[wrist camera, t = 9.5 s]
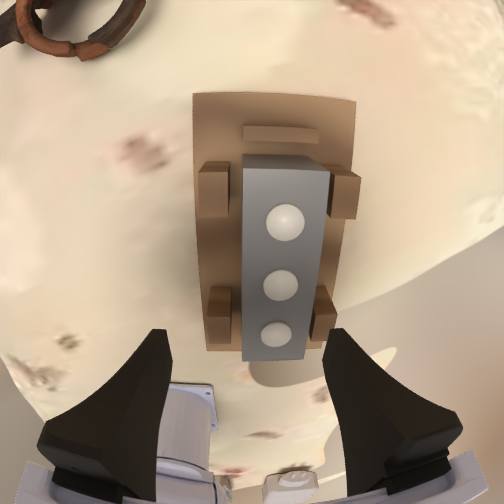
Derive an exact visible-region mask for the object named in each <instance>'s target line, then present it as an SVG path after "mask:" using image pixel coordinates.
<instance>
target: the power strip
mask: <svg viewBox="0 0 504 504" xmlns="http://www.w3.org/2000/svg"><path fill="white" fill-rule="evenodd" d="M329 180H330V171H329V170H327V169H326V168H324V167H323V166H321V165H320V164H319V163H317V162H316V161H314V160H313V159H311V158H310V157H308V156H302V155H280V154H242V227H241V325H242V361H279V360H300V359H303V358H304V354H305V349H306V343H307V338H308V333H309V327H310V322H311V316H312V310H313V304H314V298H315V292H316V285H317V279H318V272H319V265H320V258H321V251H322V243H323V235H324V227H325V219H326V210H327V201H328V191H329Z"/></svg>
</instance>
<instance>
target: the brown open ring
mask: <svg viewBox="0 0 504 504" xmlns="http://www.w3.org/2000/svg"><path fill="white" fill-rule="evenodd" d="M51 3H52V0H17V1H16V3H15V4H13V5H12V6H11V7H10V8H9V9H8V10H7V11H5V12H4V13H3V14H1V15H0V48H1V47H3V46H5V45H7V44H9V43H11V42H13V41H16V42H19V43H21V44H24V43H25V42H26V43H27V44H29V45H30V46H31V47H33V48H35V49H36V50H38V51H40V52H43V53H46V54H50V55H53V56H56V57H75V56H78V57H79V58H80V59H81V61H86V60H89V59H92V58H95V57H97V56H100V55H102V54H104V53H106V52H108V51H109V48H113V47H114V46H116V45H117V44H118V43H119V42H120V41H121V39H122V38H123V37H124V36H125V35H126V34H127V32H128V31H129V30H130V29H131V27H132V26H133V25H134V23H135V22H136V20H137V19H138V17H139V16H140V14H141V12H142V10H143V8H144V6H145V4H146V0H123V1H122V3H121V5H120V7H119V8H118V10H117V11H116V13H115V14H114V16H113V17H112V18H111V19H110V20H109V21H108V22H107V23H106V24H105V25H103V26H102V27H101V28H100V29H98V30H97V31H95V32H94V33H92V34H91V35H89V36H88V39H89V40H86V41H84V42H80V43H74V44H73V43H71V42H70V41H55V40H51V39H49V38H46V37H45V36H43V31H42V21H41V19H40V18H39V17H38V15H37V14H36V12H35V9H41V8H42V9H49V8H50V7H51Z"/></svg>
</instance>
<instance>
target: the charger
mask: <svg viewBox="0 0 504 504" xmlns="http://www.w3.org/2000/svg"><path fill="white" fill-rule="evenodd" d="M318 488H319V487H318V481H317V475H316V473H315V472H312V471H307V472H306V471H292V472H289V473H285V474H273V475H269V476H268V477H267V479H266V481H265V484H264V486H263V489H262V495H263V503H264V504H291V503H301V502H305V501H306V500H308V499H309V498H310V497H311V496H312V494H313V493H314V492H315V491H316V490H317V489H318Z"/></svg>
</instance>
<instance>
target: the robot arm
mask: <svg viewBox="0 0 504 504" xmlns="http://www.w3.org/2000/svg"><path fill="white" fill-rule="evenodd" d="M322 362H323V368H324V373H325V379H326V382H327V386H328V389H329V392H330V395H331V398H332V402H333V405H334V408H335V411H336V414H337V417H338V421H339V425H340V430H341V436H342V442H343V449H344V457H345V466H346V477H347V497H346V498H341V499H336V500H330V501H325V502H319V503H312V504H466V503H467V502H469V501H471V500H472V499H474V498H476V497H477V496H479V495H480V494H482V493H483V492H485V491H486V490H488V485H487V482H486V480H485V477H484V475H483V473H482V470H481V468H480V466H479V464H478V461H477V459H476V457H475V454H474V452H473V450H469V451H467V452H465V453H462V454H460V455H458V456H456V457H454V458H453V459H451V460H449V461H448V459H447V456H448V455H449V451H448V447H449V445H451V444H452V443H453V442H454V440H456V438H457V437H458V436H459V435H460V434H461V432H462V430H463V426H462V424H461V422H460V420H459V418H458V416H457V414H456V413H455V412H454V411H451V410H449V409H446V408H443V407H441V406H438V405H436V404H434V403H432V402H430V401H428V400H426V399H424V398H423V397H420V396H419V395H417V394H416V393H414V392H412V391H411V390H409V389H408V388H406V387H405V386H403V385H402V384H401V383H399V382H398V381H397V380H395V379H394V378H393V377H391V376H390V375H389V374H388V373H387V372H385V371H384V370H383V369H382V368H381V367H380V366H379V365H378V364H377V363H376V362H374V361H373V360H372V359H371V358H370V357H369V356H368V355H367V354H366V353H365V351H363V349H362V348H361V347H360V346H359V345H358V344H357V343H356V342H355V341H354V340H353V339H352V338H351V336H350V335H349V334H348V333H347V332H346V331H345V330H344V329H343V328H336V329H330V331H329V335H328V339H327V344H326V348H325V351H324V355H323V359H322ZM172 363H173V360H172V356H171V351H170V346H169V341H168V337H167V332H166V330H165V329H152V330H151V331H150V333H149V334H148V335H147V337H146V338H145V339H144V341H143V342H142V343H141V344H140V346H139V347H138V348H137V349H136V351H135V352H134V353H133V354H132V355H131V357H130V358H129V359H128V360H127V361H126V363H125V364H124V365H123V366H122V367H121V368H120V369H119V370H118V371H117V372H116V373H115V374H114V375H113V376H112V377H111V378H110V379H109V380H108V381H107V382H106V383H105V384H104V385H103V386H102V387H101V388H99V389H98V390H97V391H96V392H94V393H93V394H92V395H91V396H89V397H88V398H87V399H85V400H84V401H82V402H81V403H79V404H78V405H76V406H75V407H73V408H71V409H70V410H68V411H66V412H64V413H63V414H60V415H58V416H56V417H54V418H52V419H50V420H48V421H46V423H45V425H44V427H43V429H42V432H41V435H40V438H39V440H38V443H37V448H38V450H39V451H40V453H41V454H42V455H43V456H44V457H46V458H47V459H48V460H49V461H50V462H51V463H52V464H53V465H54V466H56V467H55V471H54V472H53V471H52V470H50V469H48V468H46V467H43V466H41V465H39V464H36V463H34V462H32V461H29V460H28V461H27V463H26V466H25V469H24V472H23V475H22V478H21V481H20V484H19V488H18V491H17V495H16V498H15V501H14V503H15V504H227V497H226V492H225V490H224V488H223V487H222V486H221V484H220V483H219V482H218V481H213V472H209V471H208V467H209V445H210V430H217V429H218V423H217V416H216V409H215V402H214V395H213V388H212V387H211V386H209V385H189V384H172V383H170V380H171V372H172Z"/></svg>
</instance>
